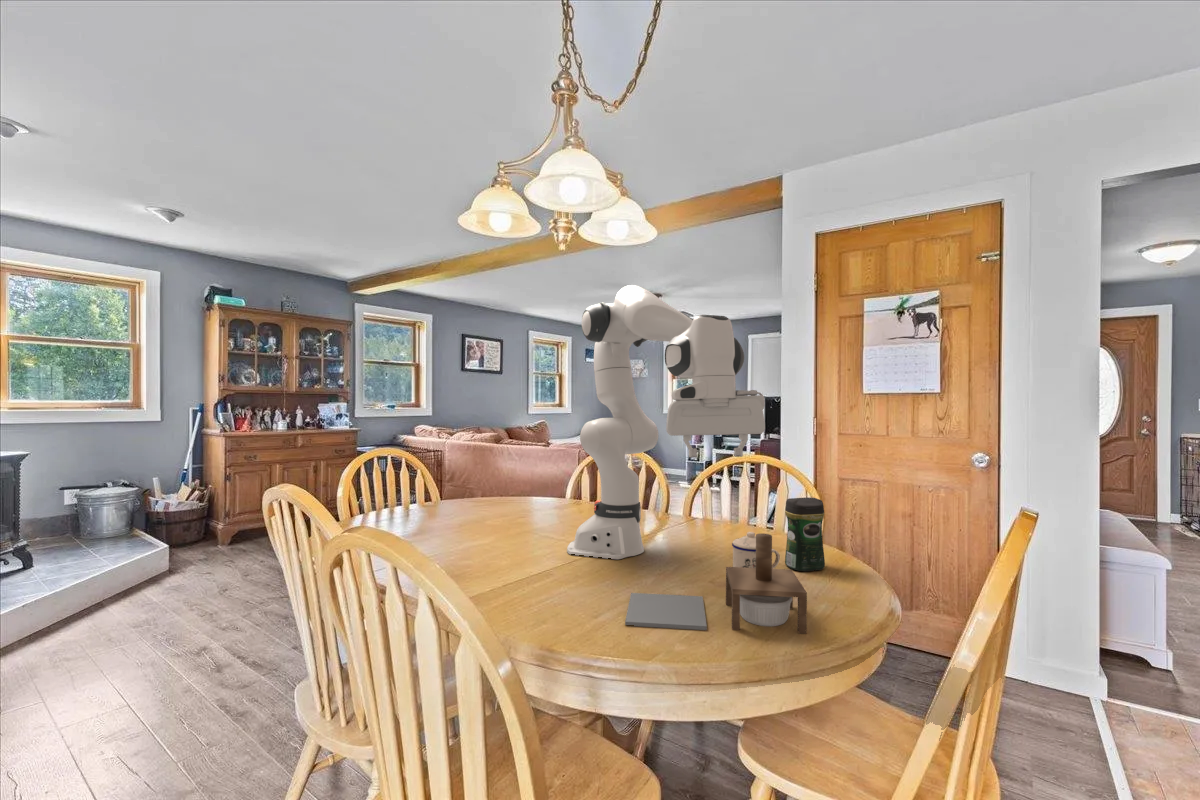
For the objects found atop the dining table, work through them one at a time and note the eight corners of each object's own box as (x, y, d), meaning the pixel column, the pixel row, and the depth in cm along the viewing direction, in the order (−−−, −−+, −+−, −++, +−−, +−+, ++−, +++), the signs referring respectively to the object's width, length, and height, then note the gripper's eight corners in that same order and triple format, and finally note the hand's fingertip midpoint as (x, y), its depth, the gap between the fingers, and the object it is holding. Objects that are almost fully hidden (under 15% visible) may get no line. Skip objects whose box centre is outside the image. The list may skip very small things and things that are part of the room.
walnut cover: (732, 629, 109) (732, 543, 109) (725, 602, 123) (726, 526, 123) (806, 633, 107) (807, 546, 107) (791, 606, 121) (791, 528, 121)
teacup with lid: (739, 586, 134) (740, 537, 133) (726, 573, 143) (726, 528, 142) (787, 584, 135) (787, 536, 135) (771, 572, 144) (771, 527, 144)
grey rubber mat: (625, 625, 111) (625, 621, 111) (631, 596, 127) (631, 592, 127) (706, 630, 109) (706, 626, 109) (702, 599, 125) (702, 596, 125)
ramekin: (759, 633, 108) (759, 606, 108) (724, 612, 118) (724, 587, 118) (804, 623, 112) (804, 597, 112) (766, 604, 123) (766, 580, 123)
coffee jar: (812, 562, 153) (813, 494, 152) (829, 571, 145) (830, 500, 144) (779, 563, 151) (780, 495, 151) (795, 573, 143) (795, 501, 143)
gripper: (760, 390, 120) (761, 454, 119) (664, 392, 120) (666, 456, 120) (768, 389, 113) (769, 457, 113) (667, 391, 114) (668, 458, 114)
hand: (715, 456), depth 116 cm, fingers open, 8 cm apart
